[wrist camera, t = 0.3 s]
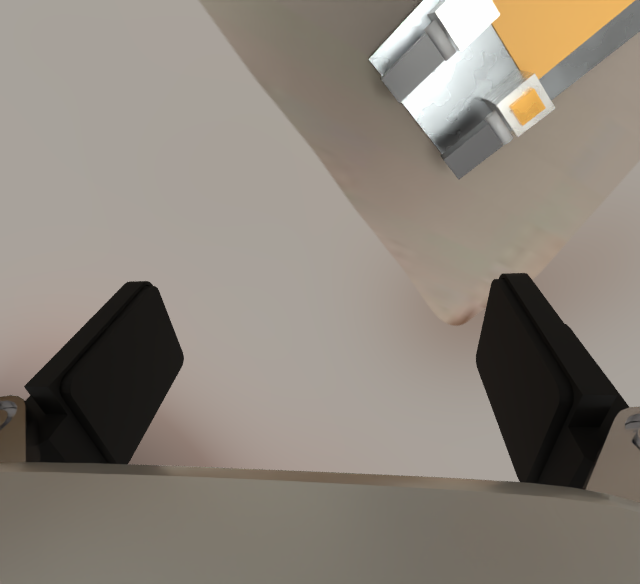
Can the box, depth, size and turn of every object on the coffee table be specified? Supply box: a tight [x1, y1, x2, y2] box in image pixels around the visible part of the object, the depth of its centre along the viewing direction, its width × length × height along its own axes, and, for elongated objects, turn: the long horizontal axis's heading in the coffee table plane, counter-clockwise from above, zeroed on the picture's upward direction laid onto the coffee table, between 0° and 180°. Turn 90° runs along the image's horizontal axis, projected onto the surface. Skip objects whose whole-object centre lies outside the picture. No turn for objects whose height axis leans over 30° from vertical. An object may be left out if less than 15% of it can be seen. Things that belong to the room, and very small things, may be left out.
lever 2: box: [441, 111, 513, 179], centre depth 30 cm, size 5×3×1 cm, turn 135°
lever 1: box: [381, 19, 456, 103], centre depth 27 cm, size 5×3×1 cm, turn 135°
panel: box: [369, 0, 640, 154], centre depth 28 cm, size 17×13×6 cm
